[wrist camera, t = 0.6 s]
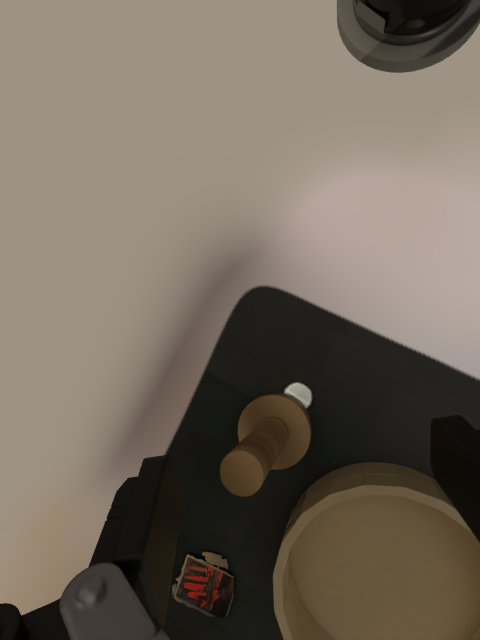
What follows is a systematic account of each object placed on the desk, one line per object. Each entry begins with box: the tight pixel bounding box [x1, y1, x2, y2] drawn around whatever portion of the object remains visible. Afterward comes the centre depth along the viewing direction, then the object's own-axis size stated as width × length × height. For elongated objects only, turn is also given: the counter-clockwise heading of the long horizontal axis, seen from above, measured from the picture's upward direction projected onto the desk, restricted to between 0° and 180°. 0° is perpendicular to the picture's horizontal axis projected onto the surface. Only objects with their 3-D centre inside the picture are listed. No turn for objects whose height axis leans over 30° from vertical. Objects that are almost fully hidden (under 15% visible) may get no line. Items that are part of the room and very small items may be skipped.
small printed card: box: [172, 552, 234, 619], centre depth 32 cm, size 5×5×1 cm
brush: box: [220, 393, 312, 496], centre depth 25 cm, size 5×5×12 cm
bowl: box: [273, 462, 480, 640], centre depth 26 cm, size 14×14×5 cm
